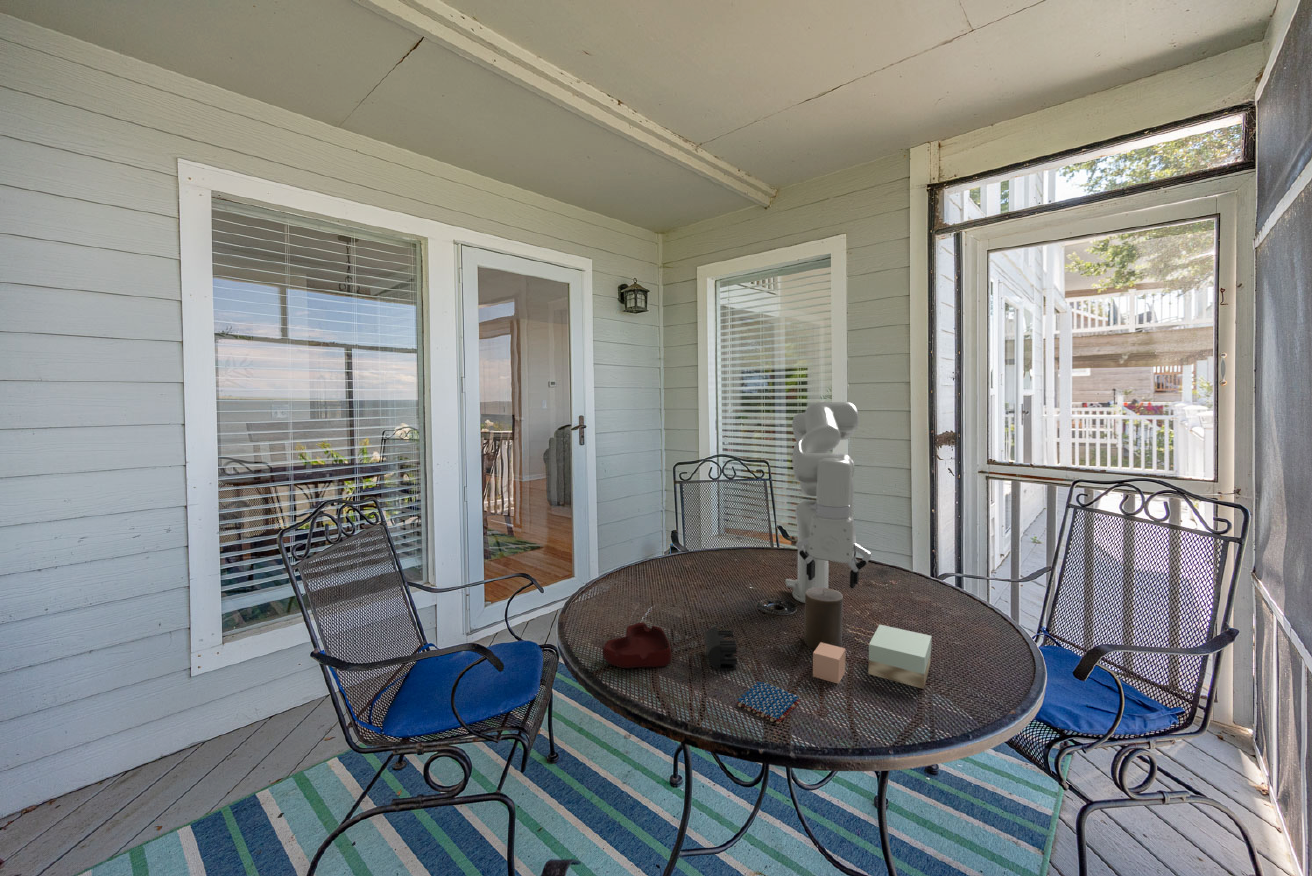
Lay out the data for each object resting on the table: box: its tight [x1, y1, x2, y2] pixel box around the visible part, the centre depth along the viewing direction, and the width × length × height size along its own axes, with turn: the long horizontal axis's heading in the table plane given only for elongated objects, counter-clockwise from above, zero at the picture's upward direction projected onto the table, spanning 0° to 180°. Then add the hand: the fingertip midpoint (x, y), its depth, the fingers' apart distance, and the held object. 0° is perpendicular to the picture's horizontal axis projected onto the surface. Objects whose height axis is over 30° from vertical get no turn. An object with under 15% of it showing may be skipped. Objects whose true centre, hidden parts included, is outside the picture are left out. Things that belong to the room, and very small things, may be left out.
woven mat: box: [736, 681, 801, 725], centre depth 118 cm, size 10×11×2 cm
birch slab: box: [867, 654, 932, 690], centre depth 130 cm, size 12×12×4 cm
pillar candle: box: [803, 587, 844, 651], centre depth 143 cm, size 10×10×15 cm
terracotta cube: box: [812, 642, 847, 685], centre depth 129 cm, size 6×6×6 cm
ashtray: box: [601, 621, 672, 669], centre depth 138 cm, size 18×16×5 cm
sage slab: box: [868, 623, 933, 674], centre depth 130 cm, size 12×12×4 cm
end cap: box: [704, 626, 738, 671], centre depth 136 cm, size 10×7×7 cm
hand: (831, 582), depth 127 cm, fingers open, 9 cm apart
